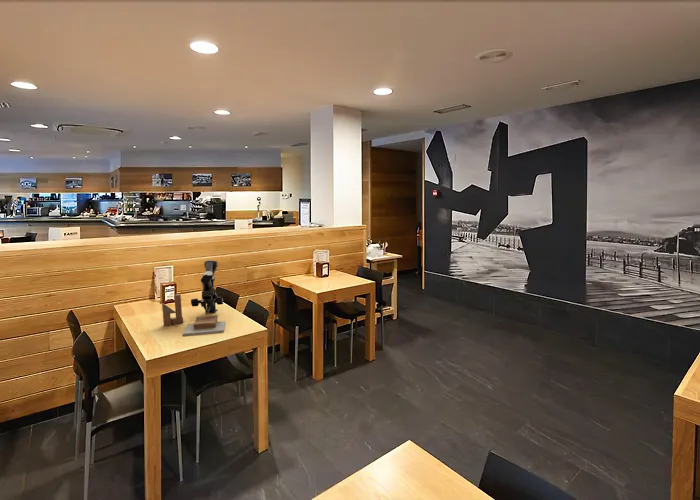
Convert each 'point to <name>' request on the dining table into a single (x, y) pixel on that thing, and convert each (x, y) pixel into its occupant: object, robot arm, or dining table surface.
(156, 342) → the dining table surface
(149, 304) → the dining table surface
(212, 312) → the robot arm
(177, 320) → the wooden block
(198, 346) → the dining table surface
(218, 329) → the slate floor board
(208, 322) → the walnut plank
